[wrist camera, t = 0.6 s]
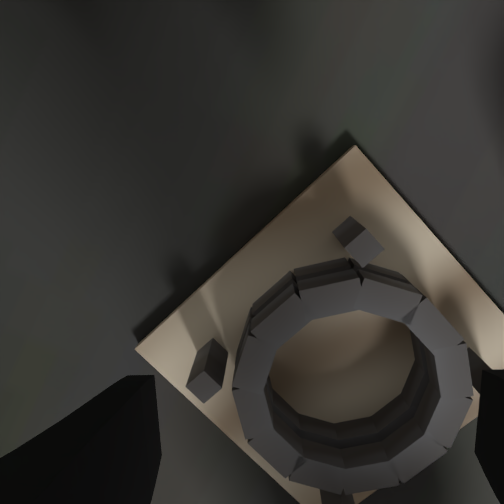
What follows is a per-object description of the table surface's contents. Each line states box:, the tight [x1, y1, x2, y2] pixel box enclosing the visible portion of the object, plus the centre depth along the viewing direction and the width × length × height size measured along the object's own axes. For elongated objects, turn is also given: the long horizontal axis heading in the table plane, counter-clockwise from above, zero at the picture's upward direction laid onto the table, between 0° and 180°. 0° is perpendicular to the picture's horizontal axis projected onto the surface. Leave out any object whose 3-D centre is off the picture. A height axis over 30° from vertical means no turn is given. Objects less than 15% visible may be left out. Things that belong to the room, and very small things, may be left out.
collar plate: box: [135, 145, 504, 504], centre depth 19 cm, size 13×13×4 cm
